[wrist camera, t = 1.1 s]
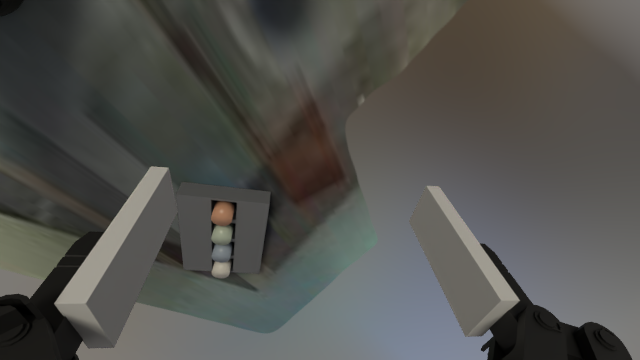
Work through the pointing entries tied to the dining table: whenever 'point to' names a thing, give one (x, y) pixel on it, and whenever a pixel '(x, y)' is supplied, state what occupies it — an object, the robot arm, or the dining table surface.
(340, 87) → the dining table surface
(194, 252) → the console
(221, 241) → the button sage
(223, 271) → the button ivory
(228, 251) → the button slate
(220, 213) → the button terracotta
